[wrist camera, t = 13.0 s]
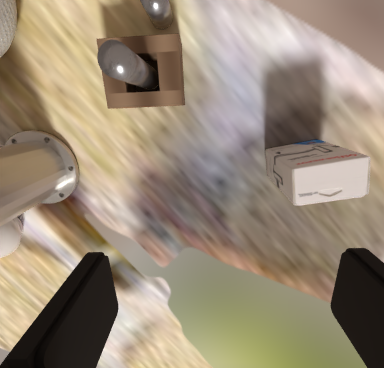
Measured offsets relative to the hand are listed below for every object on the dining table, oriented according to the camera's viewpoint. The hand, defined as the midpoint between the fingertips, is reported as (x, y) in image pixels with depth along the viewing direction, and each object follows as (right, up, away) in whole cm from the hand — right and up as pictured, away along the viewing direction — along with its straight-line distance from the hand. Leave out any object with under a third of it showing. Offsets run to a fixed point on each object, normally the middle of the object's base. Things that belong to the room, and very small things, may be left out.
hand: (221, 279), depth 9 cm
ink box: (+15, +8, +27) cm, 32 cm away
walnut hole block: (-7, +20, +23) cm, 31 cm away
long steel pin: (-8, +20, +23) cm, 31 cm away
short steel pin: (-5, +27, +21) cm, 34 cm away
